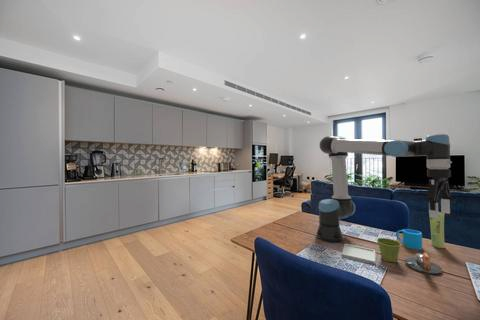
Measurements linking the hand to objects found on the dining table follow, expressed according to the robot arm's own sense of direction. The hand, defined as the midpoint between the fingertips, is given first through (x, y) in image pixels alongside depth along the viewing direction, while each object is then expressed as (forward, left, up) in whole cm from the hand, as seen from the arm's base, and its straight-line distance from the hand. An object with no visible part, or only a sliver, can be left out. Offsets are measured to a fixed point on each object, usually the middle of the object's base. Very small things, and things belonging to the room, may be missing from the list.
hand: (440, 215), depth 87 cm
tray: (-32, -7, -23) cm, 40 cm away
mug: (-9, +21, -23) cm, 32 cm away
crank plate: (-7, -5, -23) cm, 25 cm away
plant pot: (-19, -5, -23) cm, 31 cm away
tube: (+4, +27, -23) cm, 36 cm away
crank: (-7, -9, -21) cm, 24 cm away
